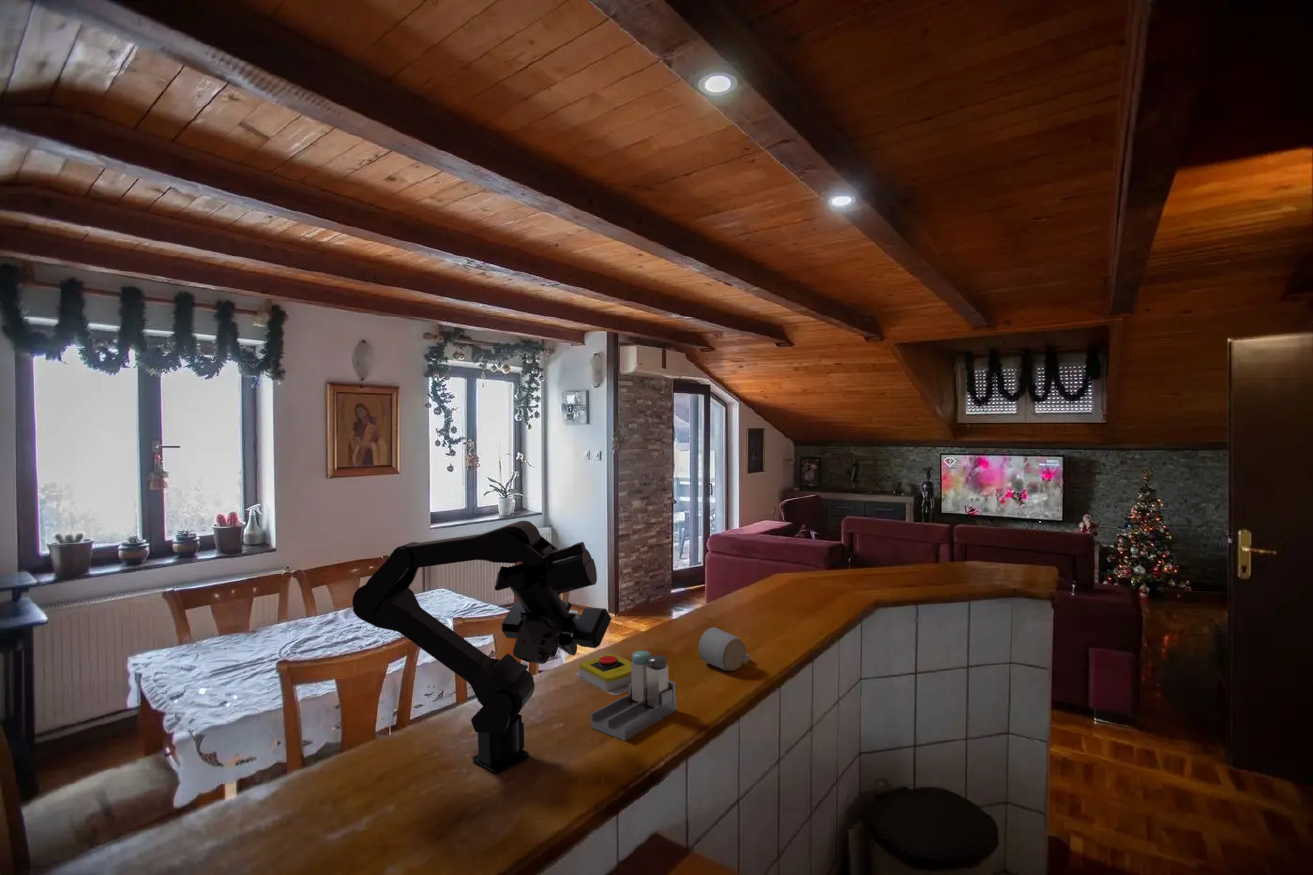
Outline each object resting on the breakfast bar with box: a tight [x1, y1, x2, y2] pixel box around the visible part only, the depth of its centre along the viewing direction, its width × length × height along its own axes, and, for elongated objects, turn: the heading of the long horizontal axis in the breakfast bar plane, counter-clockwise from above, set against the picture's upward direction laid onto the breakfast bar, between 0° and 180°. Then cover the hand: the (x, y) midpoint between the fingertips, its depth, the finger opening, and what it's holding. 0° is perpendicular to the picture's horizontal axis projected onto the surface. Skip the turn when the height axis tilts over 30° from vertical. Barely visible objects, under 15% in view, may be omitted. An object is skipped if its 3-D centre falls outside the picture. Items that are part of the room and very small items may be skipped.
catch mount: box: [590, 654, 677, 742], centre depth 110 cm, size 14×8×10 cm, turn 141°
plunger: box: [630, 650, 652, 702], centre depth 115 cm, size 3×3×8 cm
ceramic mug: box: [698, 627, 750, 672], centre depth 134 cm, size 11×8×8 cm
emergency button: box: [574, 653, 632, 696], centre depth 128 cm, size 9×4×15 cm
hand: (574, 653), depth 106 cm, fingers closed
